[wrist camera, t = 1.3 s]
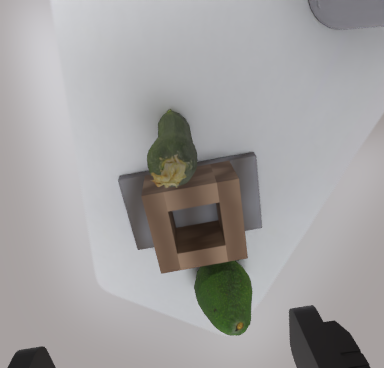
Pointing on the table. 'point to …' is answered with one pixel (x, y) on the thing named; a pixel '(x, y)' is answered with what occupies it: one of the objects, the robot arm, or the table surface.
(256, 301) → the table surface
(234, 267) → the avocado
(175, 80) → the table surface
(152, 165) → the vegetable
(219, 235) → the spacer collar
